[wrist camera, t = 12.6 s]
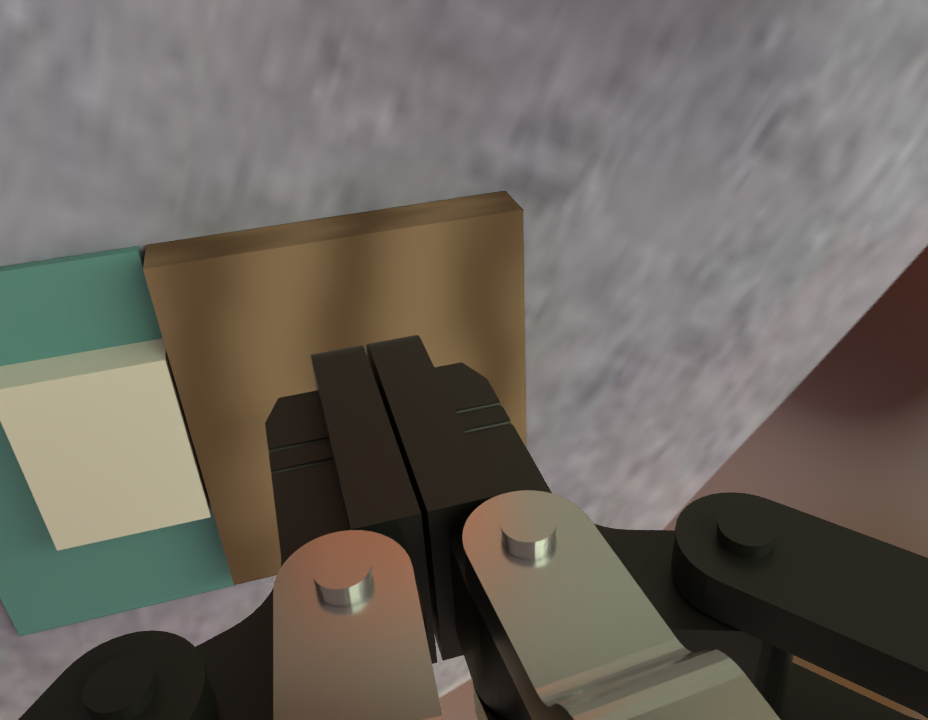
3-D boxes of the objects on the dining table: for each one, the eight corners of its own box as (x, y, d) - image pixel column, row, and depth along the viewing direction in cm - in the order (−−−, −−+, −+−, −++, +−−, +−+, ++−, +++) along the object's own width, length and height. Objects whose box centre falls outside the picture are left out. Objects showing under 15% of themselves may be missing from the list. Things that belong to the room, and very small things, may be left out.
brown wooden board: (505, 190, 38) (523, 209, 36) (513, 487, 47) (527, 515, 45) (146, 245, 34) (142, 268, 32) (232, 551, 44) (233, 585, 42)
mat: (138, 246, 34) (138, 250, 34) (234, 578, 45) (234, 585, 45) (-151, 289, 32) (-156, 295, 32) (21, 628, 43) (19, 636, 42)
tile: (166, 337, 36) (165, 359, 35) (210, 491, 41) (210, 517, 39) (-3, 366, 35) (-13, 391, 33) (63, 522, 40) (57, 550, 38)
